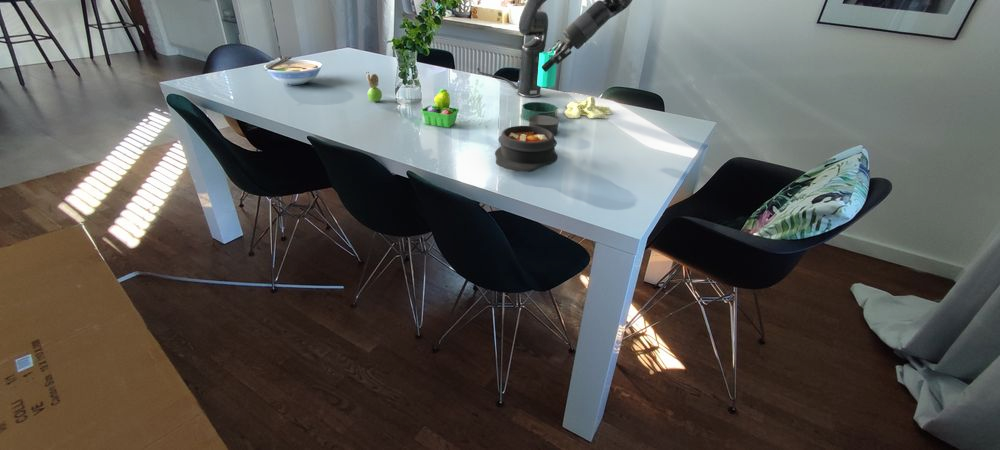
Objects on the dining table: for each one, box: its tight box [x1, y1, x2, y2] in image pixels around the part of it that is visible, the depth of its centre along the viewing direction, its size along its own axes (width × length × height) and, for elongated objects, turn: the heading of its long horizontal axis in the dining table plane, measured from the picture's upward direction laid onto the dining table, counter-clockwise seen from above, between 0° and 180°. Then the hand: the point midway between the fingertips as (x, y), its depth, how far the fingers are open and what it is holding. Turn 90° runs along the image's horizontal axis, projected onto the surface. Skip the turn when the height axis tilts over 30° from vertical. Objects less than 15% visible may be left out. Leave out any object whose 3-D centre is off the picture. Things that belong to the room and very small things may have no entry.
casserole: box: [494, 125, 559, 173], centre depth 139 cm, size 25×19×8 cm
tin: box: [521, 101, 559, 122], centre depth 178 cm, size 13×13×4 cm
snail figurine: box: [365, 71, 383, 103], centre depth 183 cm, size 5×6×12 cm
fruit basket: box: [420, 88, 459, 128], centre depth 164 cm, size 11×9×11 cm
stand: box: [528, 115, 560, 136], centre depth 164 cm, size 11×11×4 cm
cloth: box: [564, 96, 612, 119], centre depth 185 cm, size 22×19×6 cm
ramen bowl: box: [263, 56, 323, 86], centre depth 203 cm, size 25×23×8 cm
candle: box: [537, 51, 558, 88], centre depth 160 cm, size 6×6×12 cm
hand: (542, 67), depth 160 cm, fingers closed on candle, 5 cm apart
